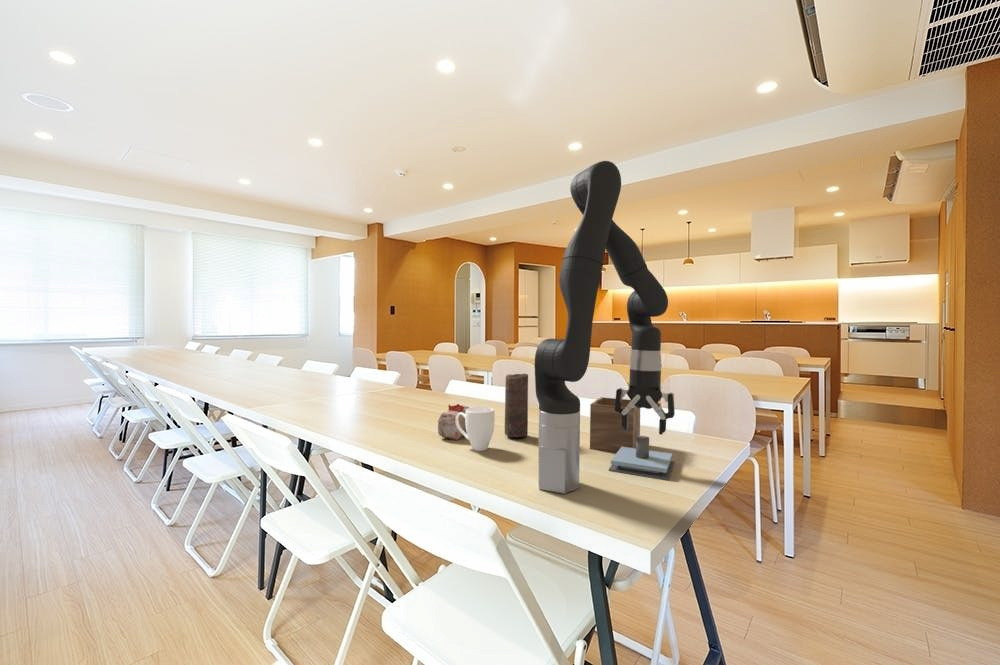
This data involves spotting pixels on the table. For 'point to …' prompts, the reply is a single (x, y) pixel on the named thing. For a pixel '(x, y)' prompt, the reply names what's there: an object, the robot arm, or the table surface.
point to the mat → (642, 473)
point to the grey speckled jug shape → (452, 422)
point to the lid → (642, 457)
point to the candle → (516, 405)
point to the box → (612, 425)
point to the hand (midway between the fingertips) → (643, 431)
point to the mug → (478, 426)
